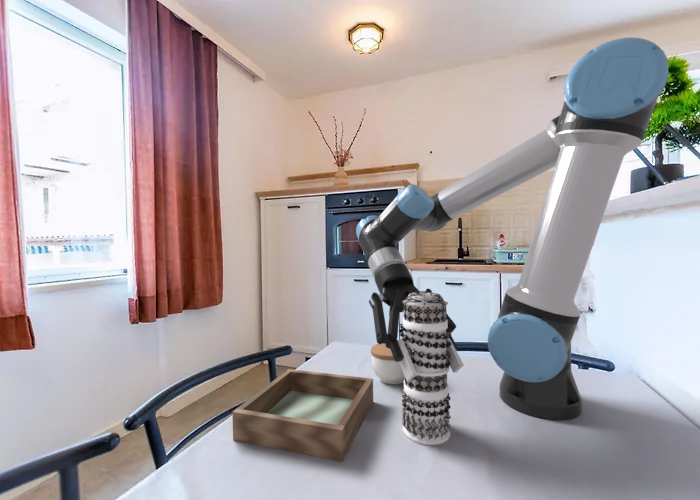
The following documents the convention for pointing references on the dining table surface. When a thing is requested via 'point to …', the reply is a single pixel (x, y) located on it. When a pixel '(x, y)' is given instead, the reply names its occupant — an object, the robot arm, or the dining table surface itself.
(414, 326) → the decorative candle
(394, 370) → the lidded jar
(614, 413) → the dining table surface
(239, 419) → the wooden drawer box
